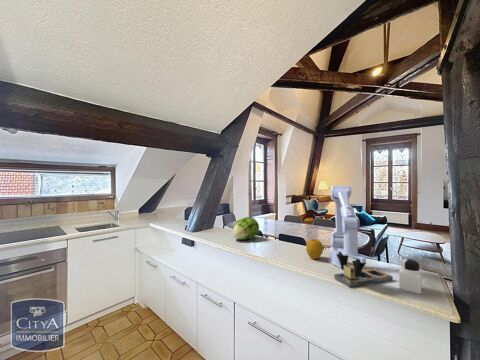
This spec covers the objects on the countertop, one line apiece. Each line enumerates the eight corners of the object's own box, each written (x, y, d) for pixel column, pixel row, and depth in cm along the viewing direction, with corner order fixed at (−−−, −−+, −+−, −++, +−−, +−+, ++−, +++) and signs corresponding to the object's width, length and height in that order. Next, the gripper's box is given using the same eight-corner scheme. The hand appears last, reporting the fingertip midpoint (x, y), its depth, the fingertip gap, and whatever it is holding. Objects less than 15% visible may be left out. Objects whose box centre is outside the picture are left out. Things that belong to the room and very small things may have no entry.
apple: (324, 262, 118) (324, 241, 119) (307, 260, 120) (307, 240, 121) (321, 256, 128) (321, 237, 128) (305, 255, 130) (305, 236, 130)
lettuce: (223, 229, 166) (236, 218, 155) (241, 220, 184) (254, 210, 173) (235, 249, 161) (249, 239, 150) (252, 238, 179) (266, 229, 168)
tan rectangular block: (343, 280, 96) (343, 265, 96) (350, 279, 97) (350, 264, 97) (350, 284, 92) (350, 268, 92) (357, 283, 93) (357, 267, 93)
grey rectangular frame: (334, 278, 98) (334, 273, 98) (375, 272, 105) (375, 268, 105) (349, 287, 89) (349, 282, 89) (392, 280, 96) (392, 275, 96)
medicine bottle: (421, 288, 89) (420, 260, 90) (420, 294, 84) (420, 265, 84) (400, 283, 94) (400, 256, 94) (398, 288, 89) (398, 260, 89)
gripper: (332, 239, 101) (332, 267, 100) (356, 248, 87) (356, 281, 87) (343, 238, 103) (343, 266, 102) (369, 247, 89) (369, 279, 89)
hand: (350, 273), depth 95 cm, fingers open, 7 cm apart
